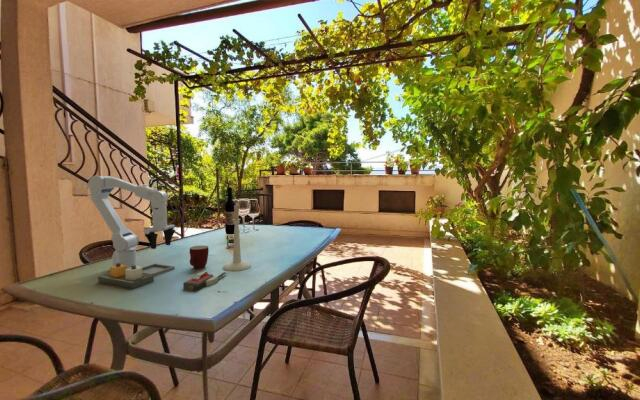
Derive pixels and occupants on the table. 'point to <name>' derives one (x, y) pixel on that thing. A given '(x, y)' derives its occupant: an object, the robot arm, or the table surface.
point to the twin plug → (133, 273)
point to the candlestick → (236, 248)
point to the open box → (125, 281)
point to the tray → (156, 269)
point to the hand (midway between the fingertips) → (160, 246)
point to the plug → (118, 270)
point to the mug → (198, 256)
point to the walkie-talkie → (201, 281)
